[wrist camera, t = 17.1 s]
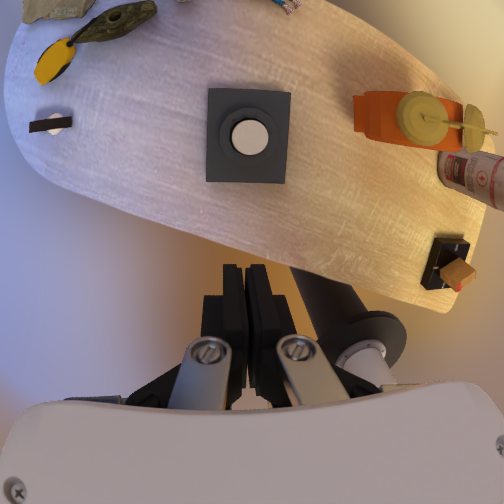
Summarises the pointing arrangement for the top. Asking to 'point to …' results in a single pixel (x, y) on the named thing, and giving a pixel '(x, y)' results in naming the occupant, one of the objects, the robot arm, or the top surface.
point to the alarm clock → (419, 121)
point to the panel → (442, 260)
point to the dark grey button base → (225, 120)
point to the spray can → (474, 175)
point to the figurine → (283, 4)
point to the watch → (51, 124)
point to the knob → (458, 274)
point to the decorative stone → (118, 21)
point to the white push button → (250, 137)
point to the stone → (54, 9)
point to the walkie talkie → (57, 58)
